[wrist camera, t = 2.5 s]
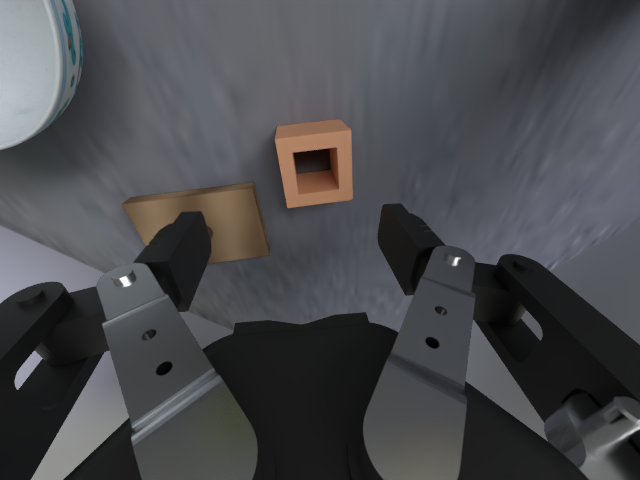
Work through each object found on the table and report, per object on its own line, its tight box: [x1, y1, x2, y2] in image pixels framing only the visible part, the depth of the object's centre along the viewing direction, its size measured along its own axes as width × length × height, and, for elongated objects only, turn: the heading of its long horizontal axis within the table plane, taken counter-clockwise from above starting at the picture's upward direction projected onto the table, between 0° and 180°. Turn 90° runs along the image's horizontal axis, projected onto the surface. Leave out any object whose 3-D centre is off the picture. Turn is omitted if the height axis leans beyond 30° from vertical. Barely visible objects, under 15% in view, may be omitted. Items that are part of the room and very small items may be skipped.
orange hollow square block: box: [275, 119, 353, 208], centre depth 22 cm, size 6×6×5 cm
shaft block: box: [122, 182, 270, 264], centre depth 24 cm, size 12×8×8 cm, turn 95°
